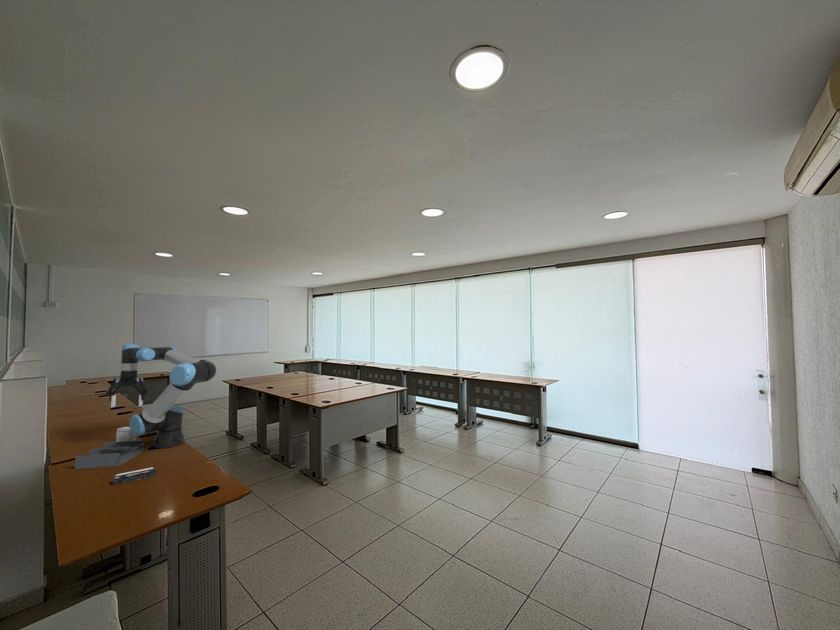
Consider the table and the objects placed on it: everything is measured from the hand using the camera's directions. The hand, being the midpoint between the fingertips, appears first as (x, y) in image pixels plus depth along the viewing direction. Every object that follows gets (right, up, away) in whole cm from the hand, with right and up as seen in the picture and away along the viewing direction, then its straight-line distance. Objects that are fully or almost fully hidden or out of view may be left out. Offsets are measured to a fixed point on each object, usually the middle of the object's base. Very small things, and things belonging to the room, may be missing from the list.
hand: (127, 406), depth 196 cm
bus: (+39, -23, -42) cm, 62 cm away
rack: (+7, -24, -18) cm, 31 cm away
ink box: (0, -25, -1) cm, 25 cm away
